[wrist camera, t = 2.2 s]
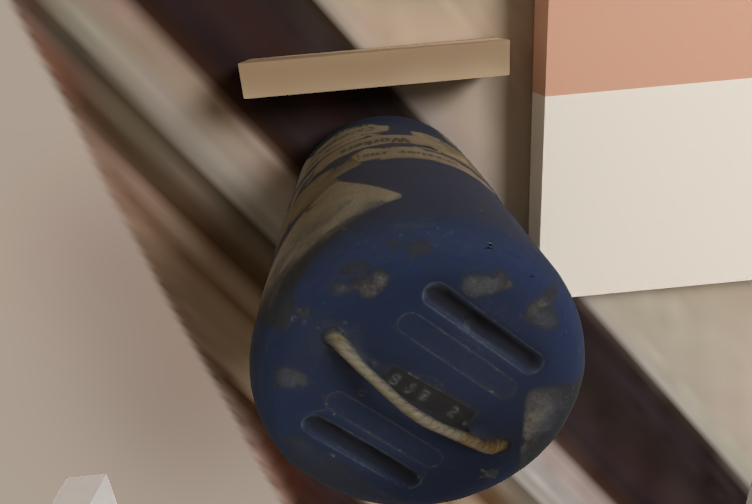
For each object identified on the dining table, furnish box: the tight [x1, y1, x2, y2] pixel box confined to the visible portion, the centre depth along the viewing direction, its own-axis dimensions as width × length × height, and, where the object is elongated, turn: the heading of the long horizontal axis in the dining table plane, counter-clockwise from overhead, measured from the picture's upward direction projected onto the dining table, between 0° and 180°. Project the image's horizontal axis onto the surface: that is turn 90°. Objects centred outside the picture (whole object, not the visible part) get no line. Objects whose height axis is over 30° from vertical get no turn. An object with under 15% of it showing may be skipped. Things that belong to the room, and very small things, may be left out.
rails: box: [238, 37, 510, 99], centre depth 29 cm, size 16×12×3 cm
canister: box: [250, 116, 585, 504], centre depth 22 cm, size 10×10×18 cm
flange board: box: [528, 0, 752, 297], centre depth 26 cm, size 22×16×6 cm
